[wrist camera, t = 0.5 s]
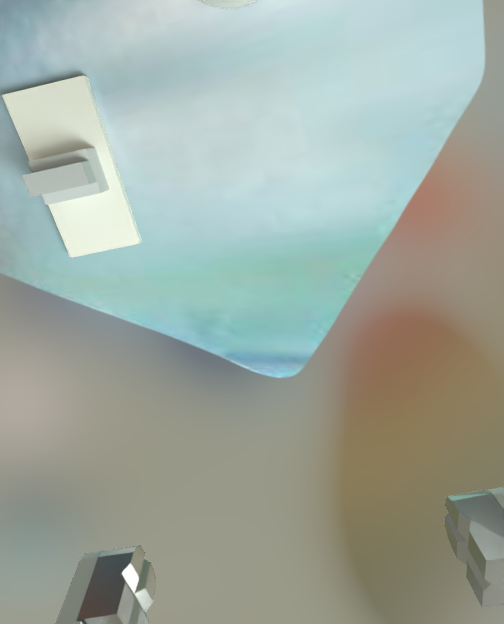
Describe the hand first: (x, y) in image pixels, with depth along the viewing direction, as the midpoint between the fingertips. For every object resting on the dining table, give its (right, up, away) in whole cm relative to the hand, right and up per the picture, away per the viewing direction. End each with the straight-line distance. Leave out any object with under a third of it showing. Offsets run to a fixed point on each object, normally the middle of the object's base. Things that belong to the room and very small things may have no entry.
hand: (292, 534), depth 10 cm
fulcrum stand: (-23, +24, +39) cm, 51 cm away
